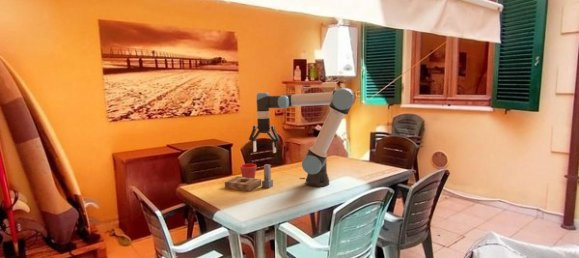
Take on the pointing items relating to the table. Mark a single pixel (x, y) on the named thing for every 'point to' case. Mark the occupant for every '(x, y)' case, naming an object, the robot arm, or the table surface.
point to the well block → (243, 183)
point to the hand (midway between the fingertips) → (264, 152)
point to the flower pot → (248, 170)
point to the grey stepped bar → (267, 177)
